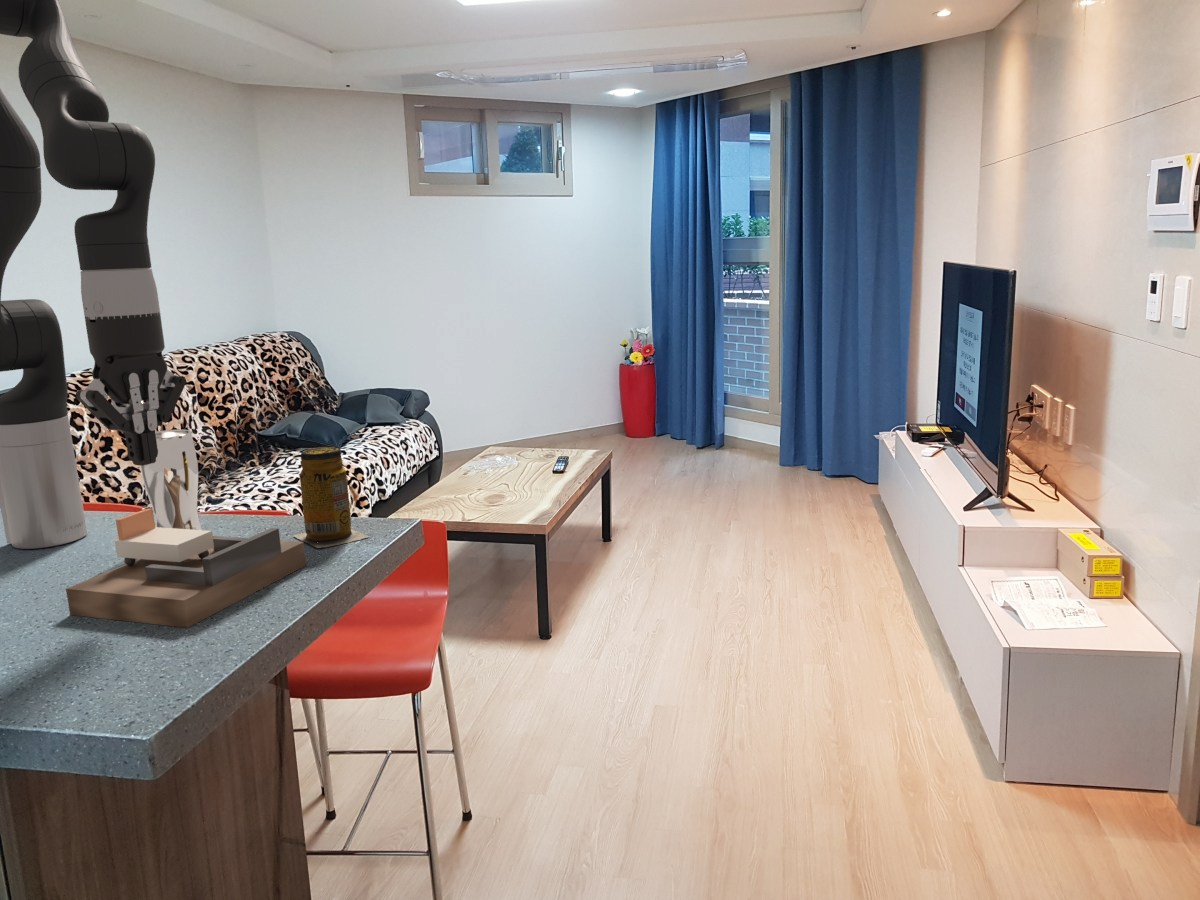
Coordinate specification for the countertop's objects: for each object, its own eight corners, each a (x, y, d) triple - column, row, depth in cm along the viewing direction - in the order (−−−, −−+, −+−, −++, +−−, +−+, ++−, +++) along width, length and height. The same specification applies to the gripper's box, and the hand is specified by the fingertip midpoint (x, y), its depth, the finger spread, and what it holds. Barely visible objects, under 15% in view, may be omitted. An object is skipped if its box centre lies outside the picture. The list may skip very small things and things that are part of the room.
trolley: (118, 566, 108) (111, 520, 107) (155, 552, 113) (148, 507, 112) (181, 572, 105) (174, 524, 104) (215, 556, 110) (209, 511, 109)
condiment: (343, 525, 132) (334, 442, 130) (369, 538, 126) (361, 450, 124) (292, 537, 128) (282, 451, 125) (317, 550, 122) (307, 460, 119)
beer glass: (218, 538, 129) (203, 431, 126) (172, 552, 123) (155, 440, 120) (187, 531, 133) (172, 427, 129) (141, 545, 127) (124, 437, 124)
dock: (70, 614, 102) (61, 562, 101) (201, 557, 121) (195, 512, 119) (188, 627, 97) (180, 572, 96) (306, 565, 116) (300, 518, 114)
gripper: (150, 307, 111) (170, 450, 115) (43, 316, 99) (69, 474, 103) (195, 306, 108) (214, 454, 111) (90, 316, 96) (114, 479, 100)
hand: (144, 463), depth 107 cm, fingers closed
